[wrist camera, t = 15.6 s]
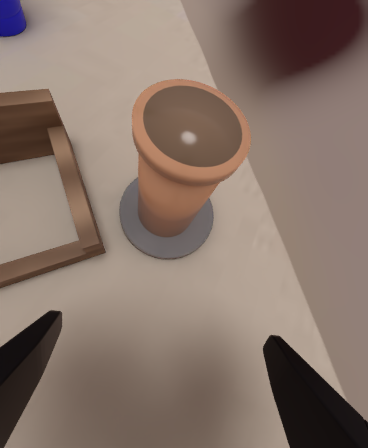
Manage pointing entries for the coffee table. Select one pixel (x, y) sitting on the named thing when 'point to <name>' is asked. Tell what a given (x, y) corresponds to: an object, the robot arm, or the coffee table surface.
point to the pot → (184, 150)
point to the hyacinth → (11, 18)
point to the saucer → (157, 244)
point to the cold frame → (73, 184)
